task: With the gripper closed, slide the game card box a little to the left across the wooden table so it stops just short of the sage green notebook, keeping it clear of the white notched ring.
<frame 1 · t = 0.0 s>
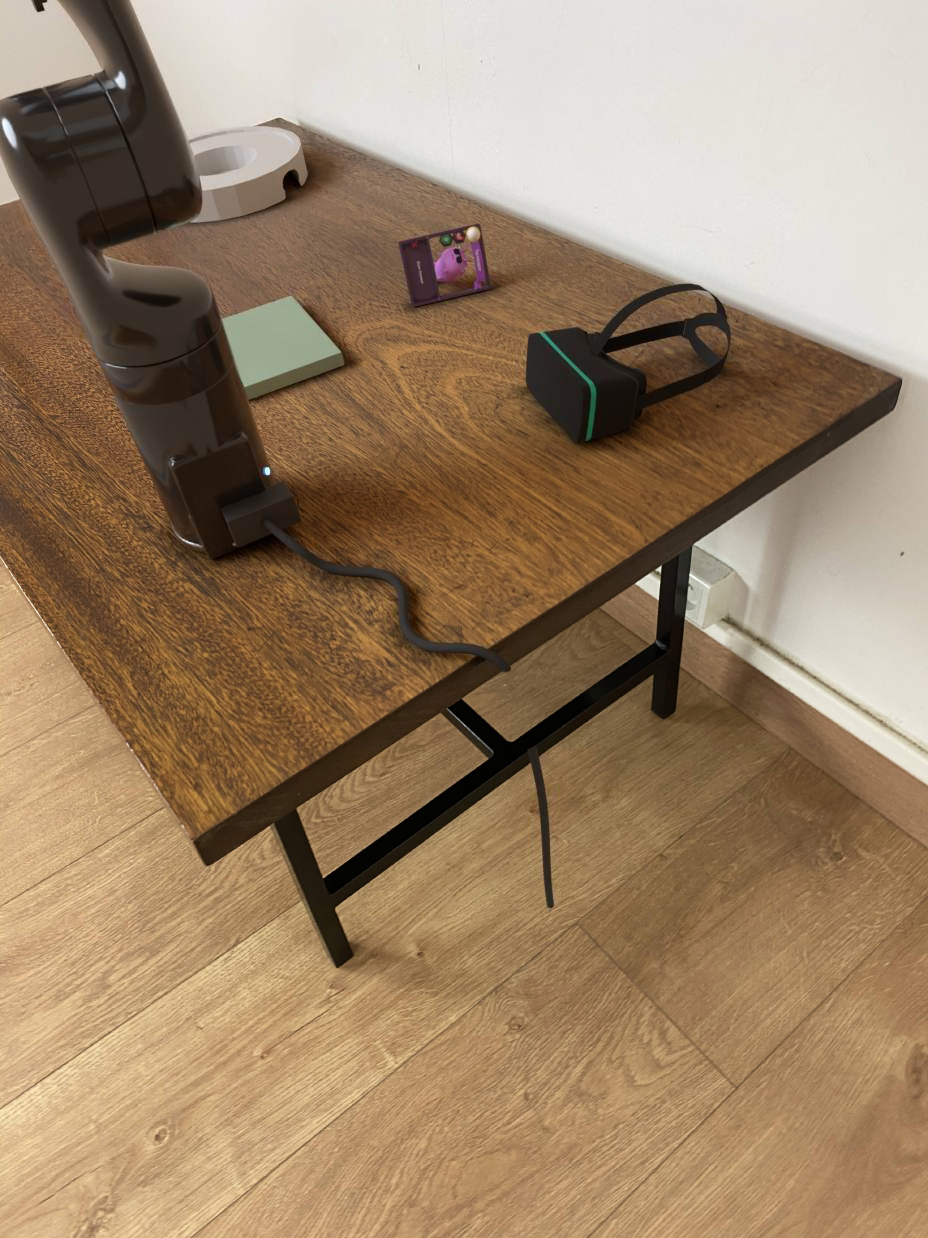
virtual reality headset: (635, 392, 83), on the table
white notched ring: (228, 187, 129), on the table
game card: (446, 290, 101), on the table
notebook: (270, 351, 95), on the table
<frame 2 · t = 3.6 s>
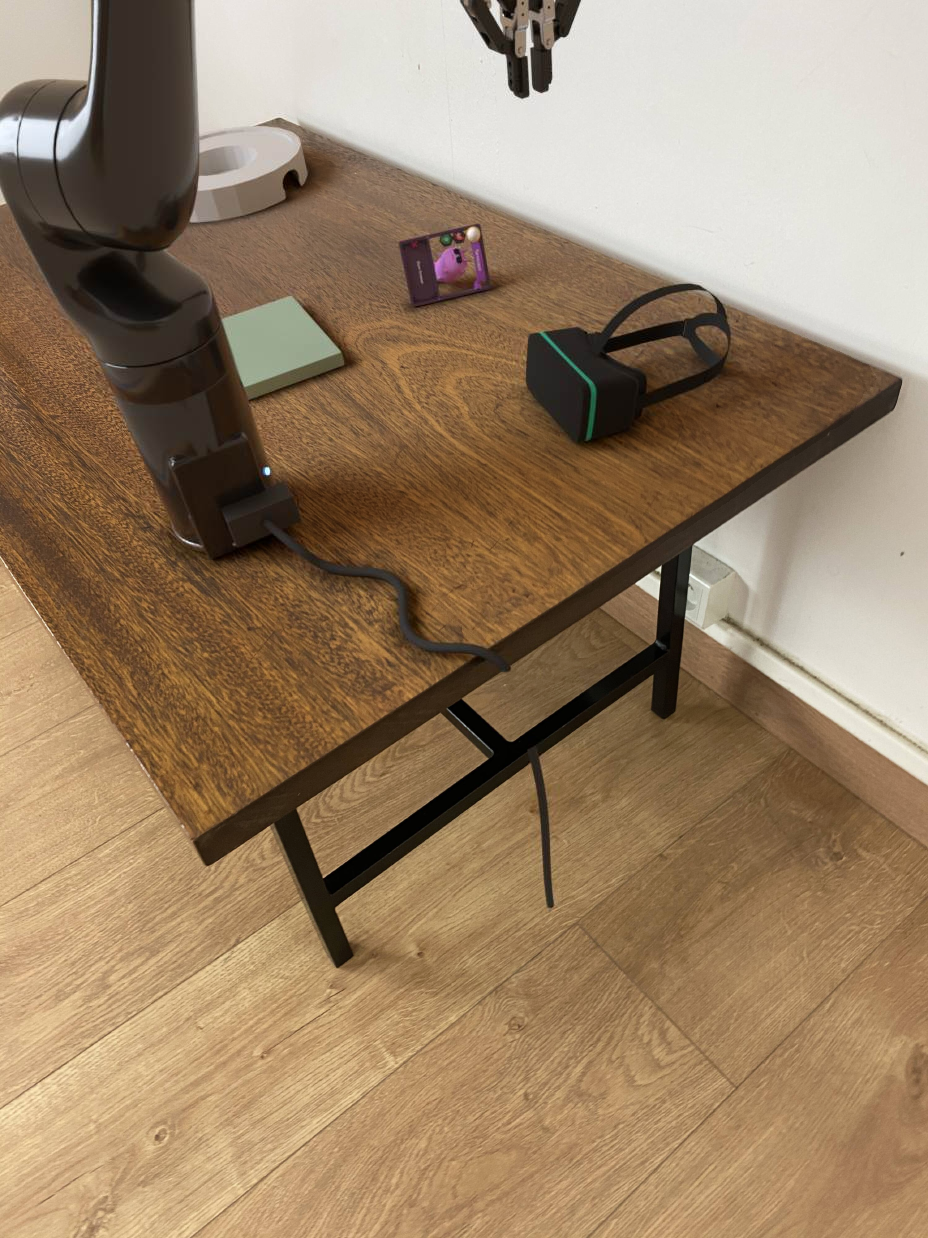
hand: (531, 92, 91), 17 cm above the table, tool pointing down, fingers closed
nothing on the table moved.
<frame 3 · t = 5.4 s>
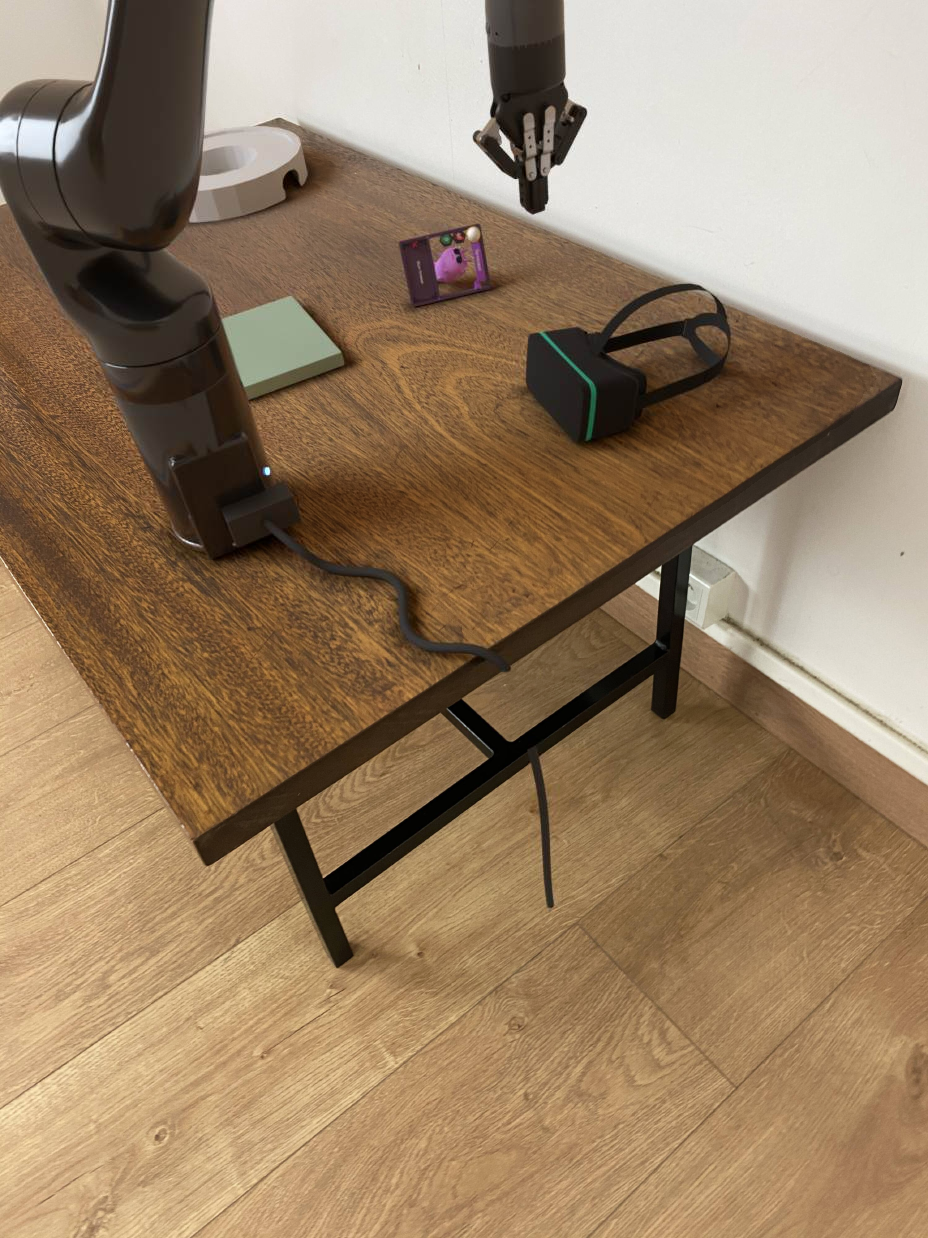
hand: (534, 210, 100), 5 cm above the table, tool pointing down, fingers closed
nothing on the table moved.
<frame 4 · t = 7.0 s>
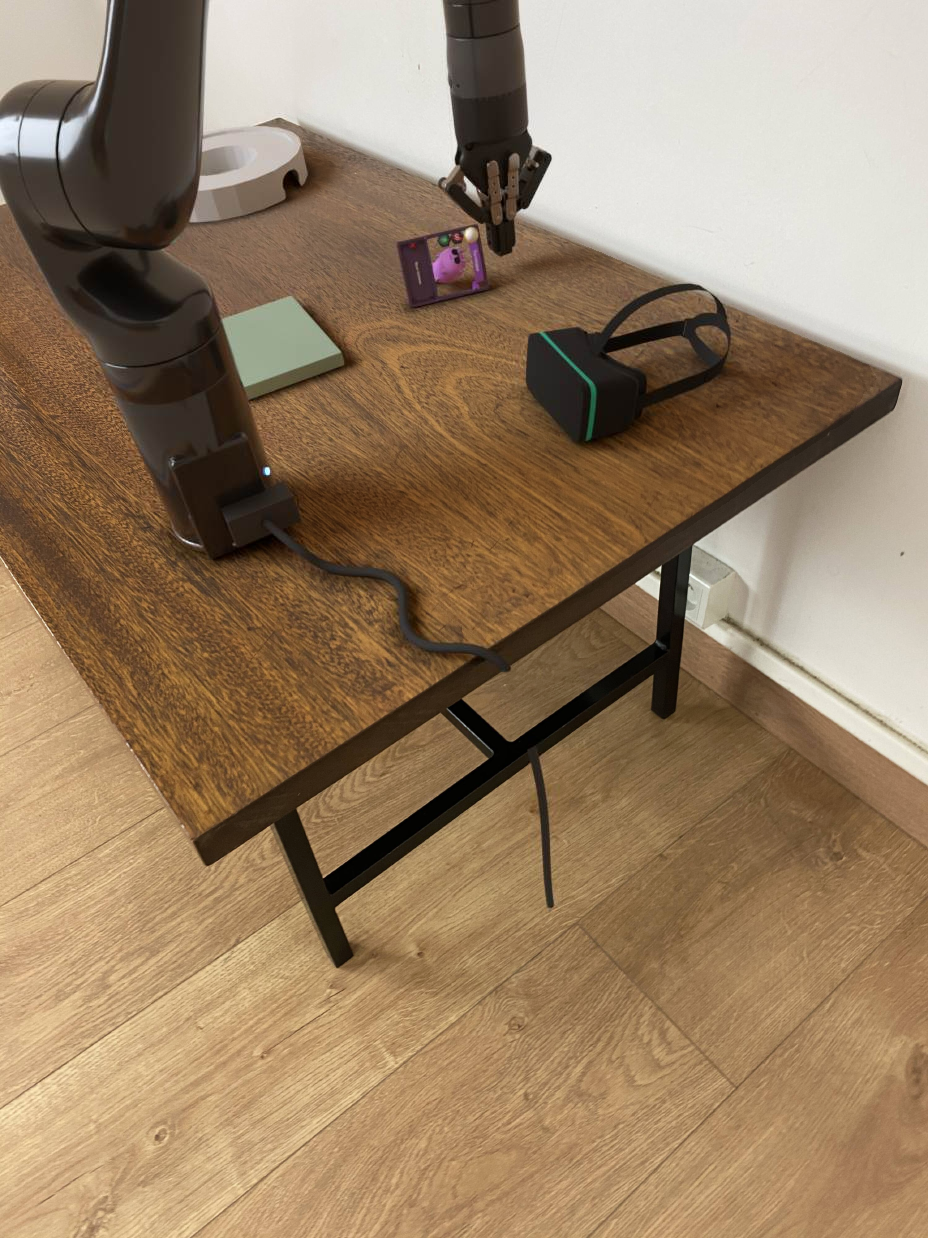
hand: (502, 252, 101), 2 cm above the table, tool pointing down, fingers closed
game card: (445, 291, 101), on the table, touching gripper
everything else where it was.
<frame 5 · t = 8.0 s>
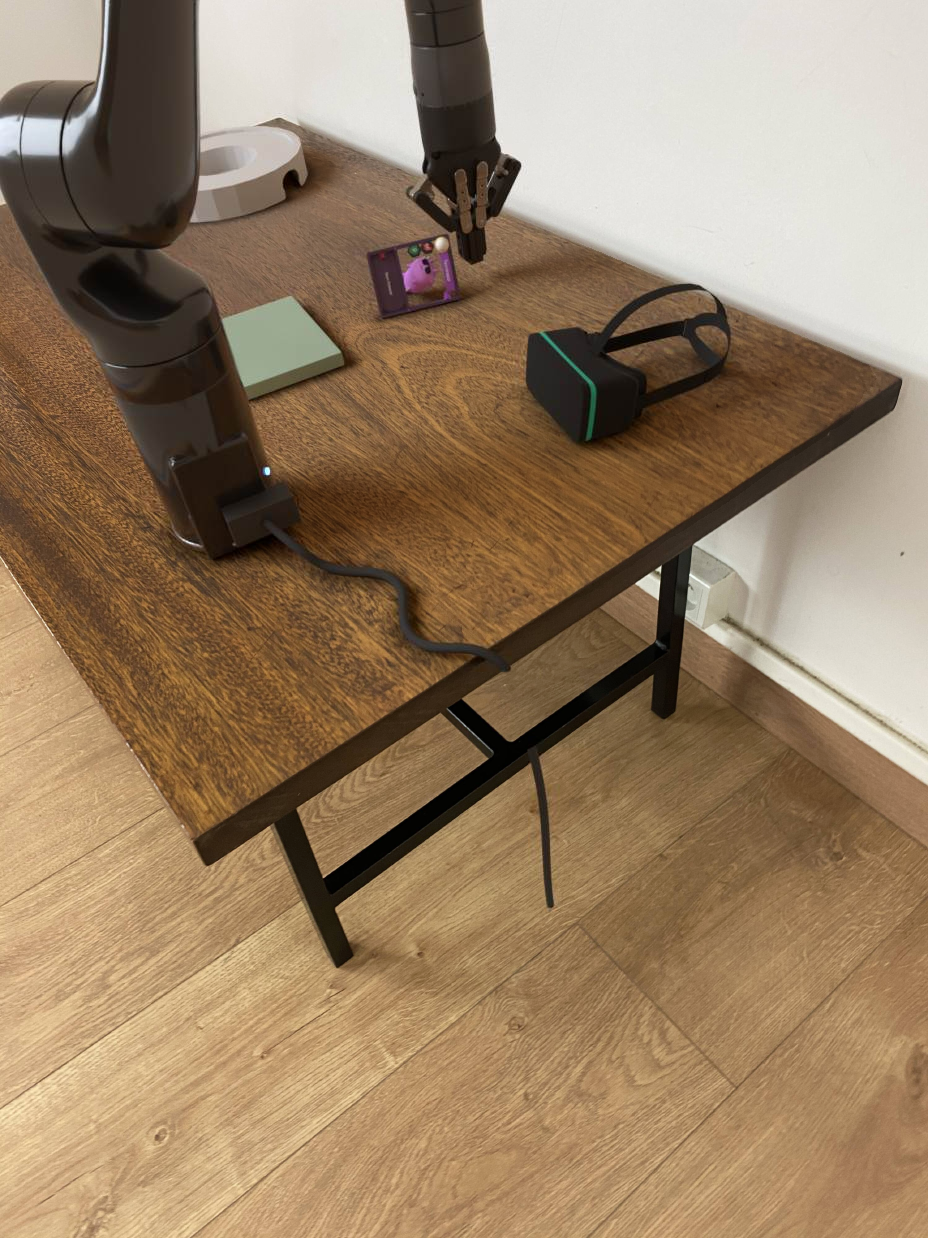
hand: (473, 260, 100), 2 cm above the table, tool pointing down, fingers closed
game card: (416, 301, 100), on the table, touching gripper
everything else where it was.
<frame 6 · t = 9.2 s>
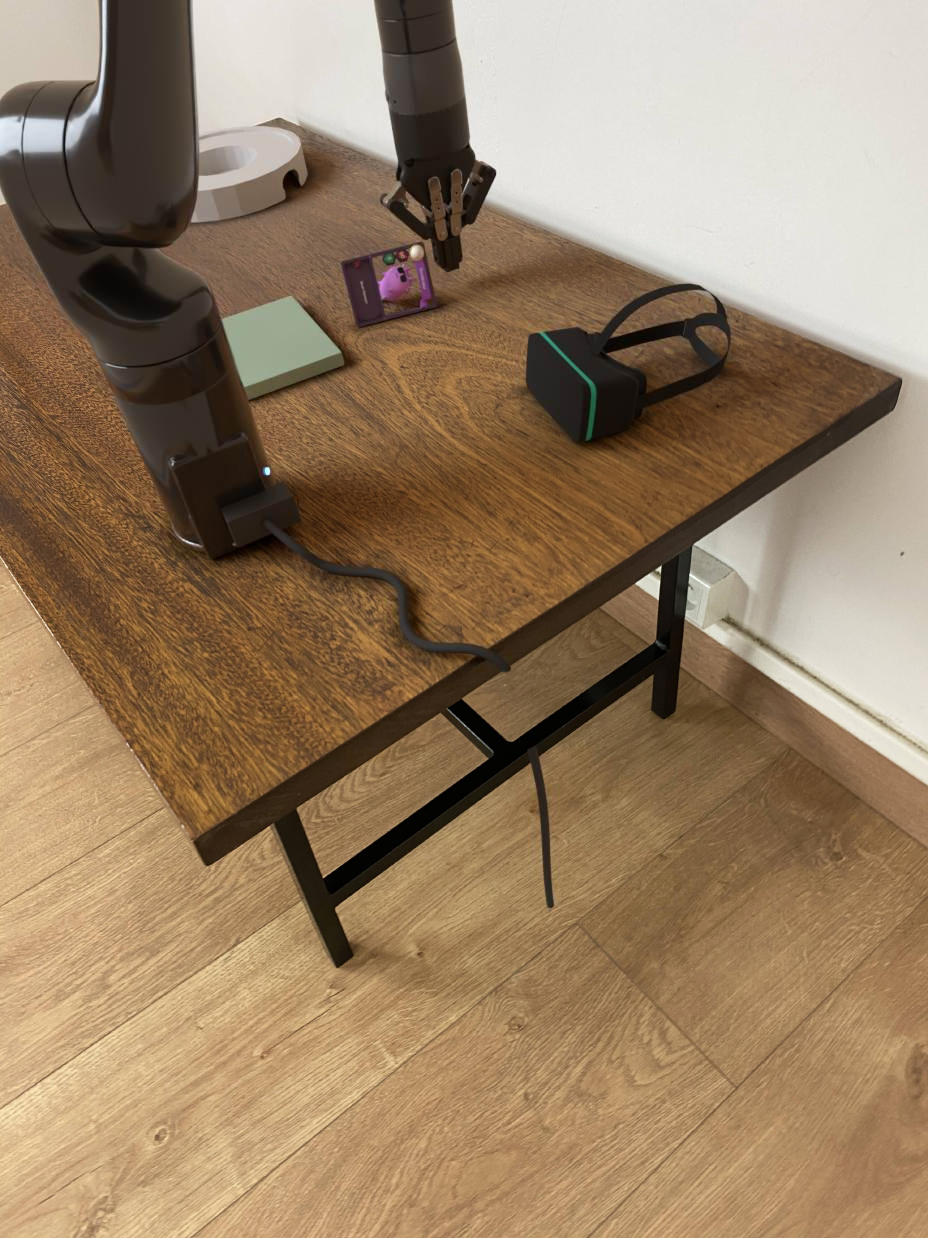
hand: (449, 267, 99), 2 cm above the table, tool pointing down, fingers closed
game card: (392, 309, 99), on the table, touching gripper
everything else where it was.
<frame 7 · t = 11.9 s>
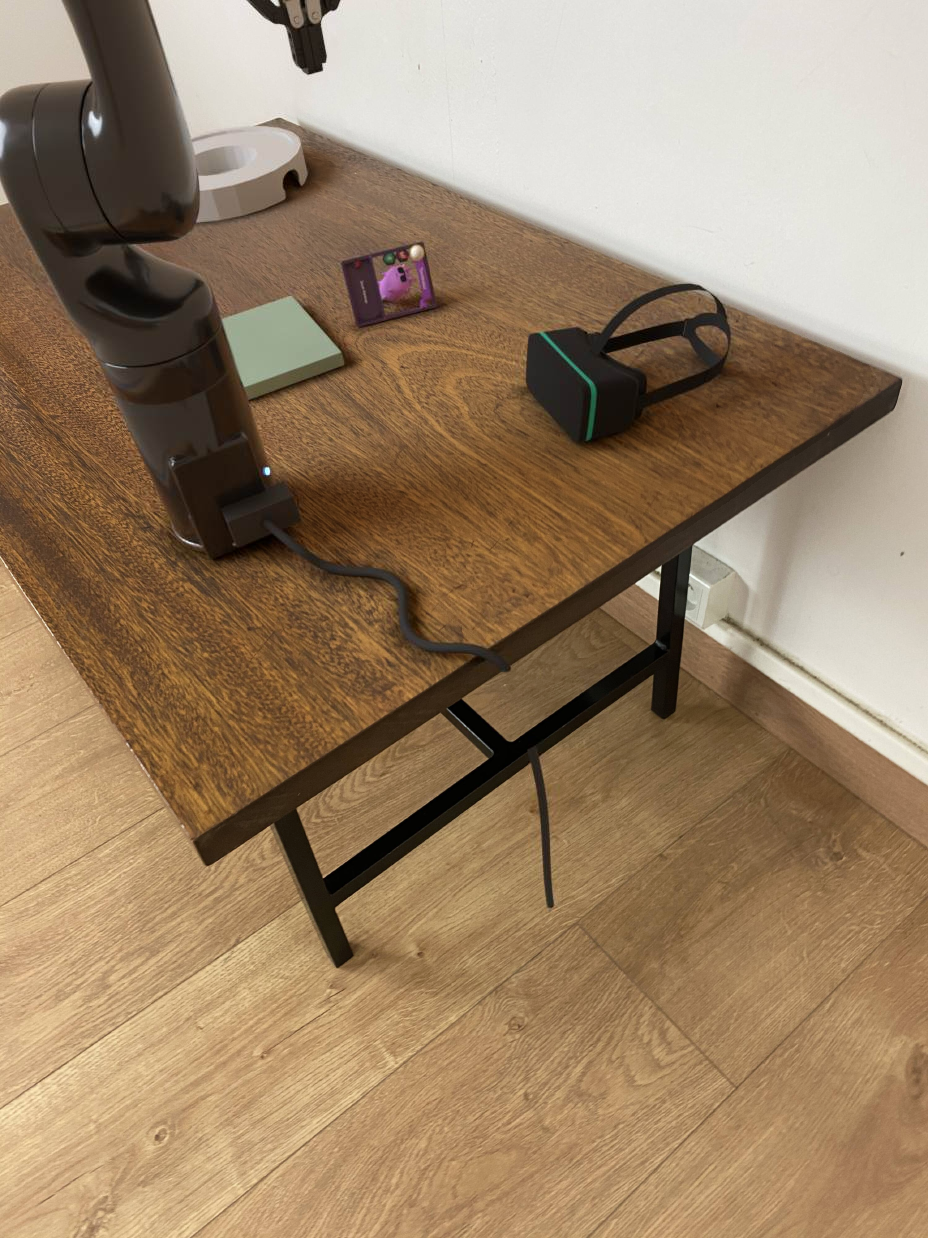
hand: (312, 70, 83), 23 cm above the table, tool pointing down, fingers closed
game card: (392, 309, 99), on the table
everything else where it was.
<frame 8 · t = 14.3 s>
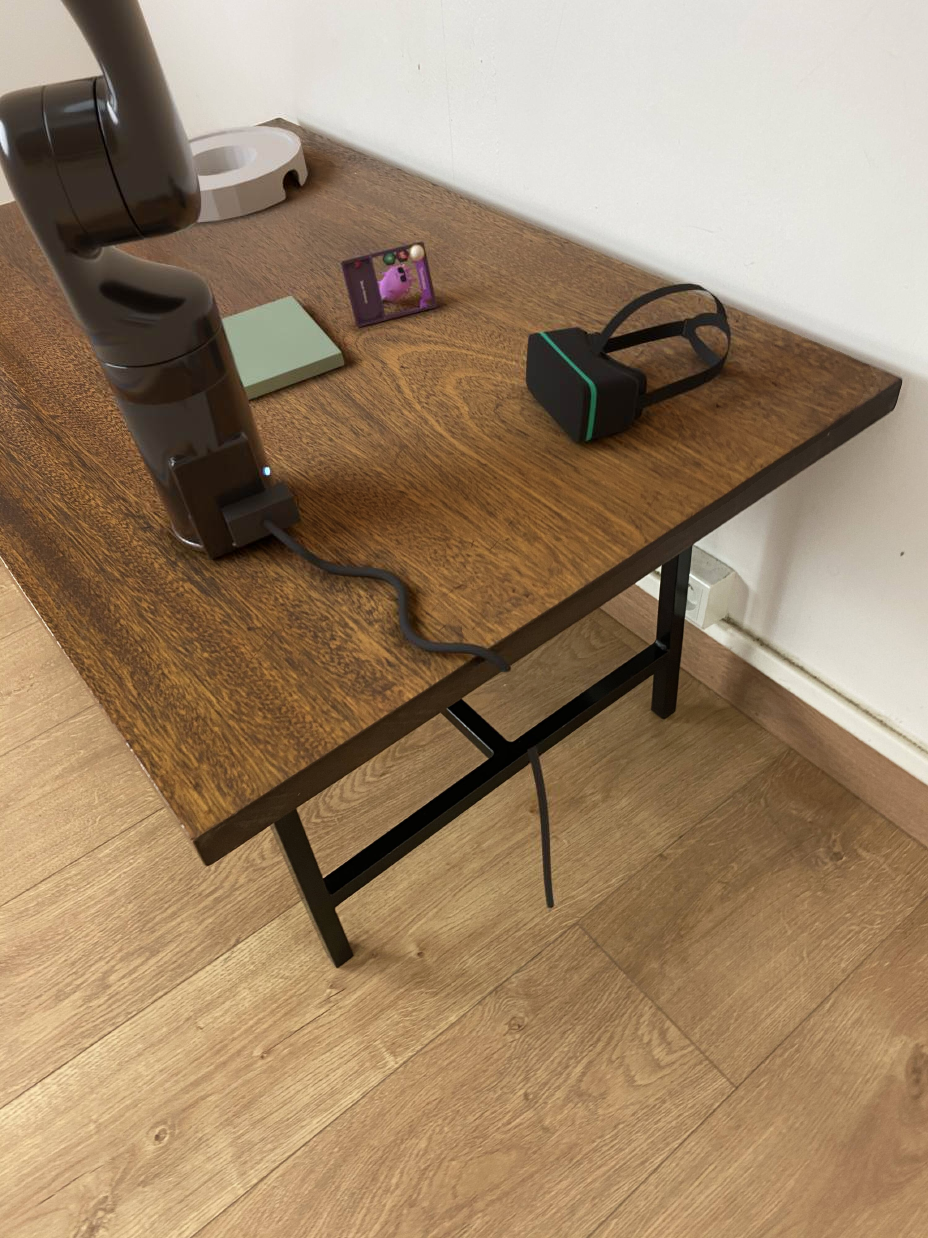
hand: (114, 34, 77), 29 cm above the table, tool pointing down, fingers closed
nothing on the table moved.
at the end: game card inside the target area on the table beside the notebook (0.1 cm from its centre), on the table; game card moved 6.7 cm from its start; game card touching table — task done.
